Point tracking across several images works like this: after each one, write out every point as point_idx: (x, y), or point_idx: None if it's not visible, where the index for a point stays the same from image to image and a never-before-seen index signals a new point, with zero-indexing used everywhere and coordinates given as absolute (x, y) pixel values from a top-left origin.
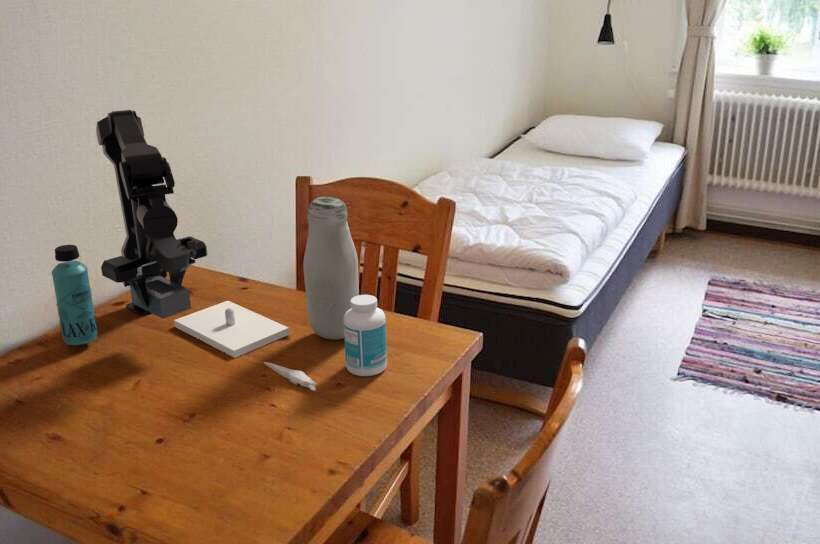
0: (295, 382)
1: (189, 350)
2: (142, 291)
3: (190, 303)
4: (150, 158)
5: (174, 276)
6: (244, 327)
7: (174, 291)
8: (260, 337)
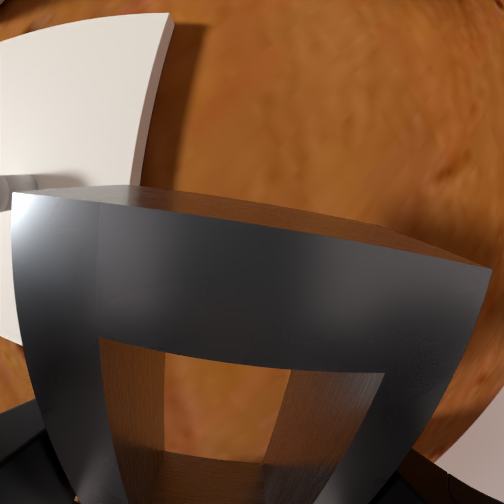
0: None
1: (213, 190)
2: (452, 484)
3: (109, 185)
4: None
5: (31, 499)
6: (25, 130)
7: (202, 308)
8: (59, 35)
